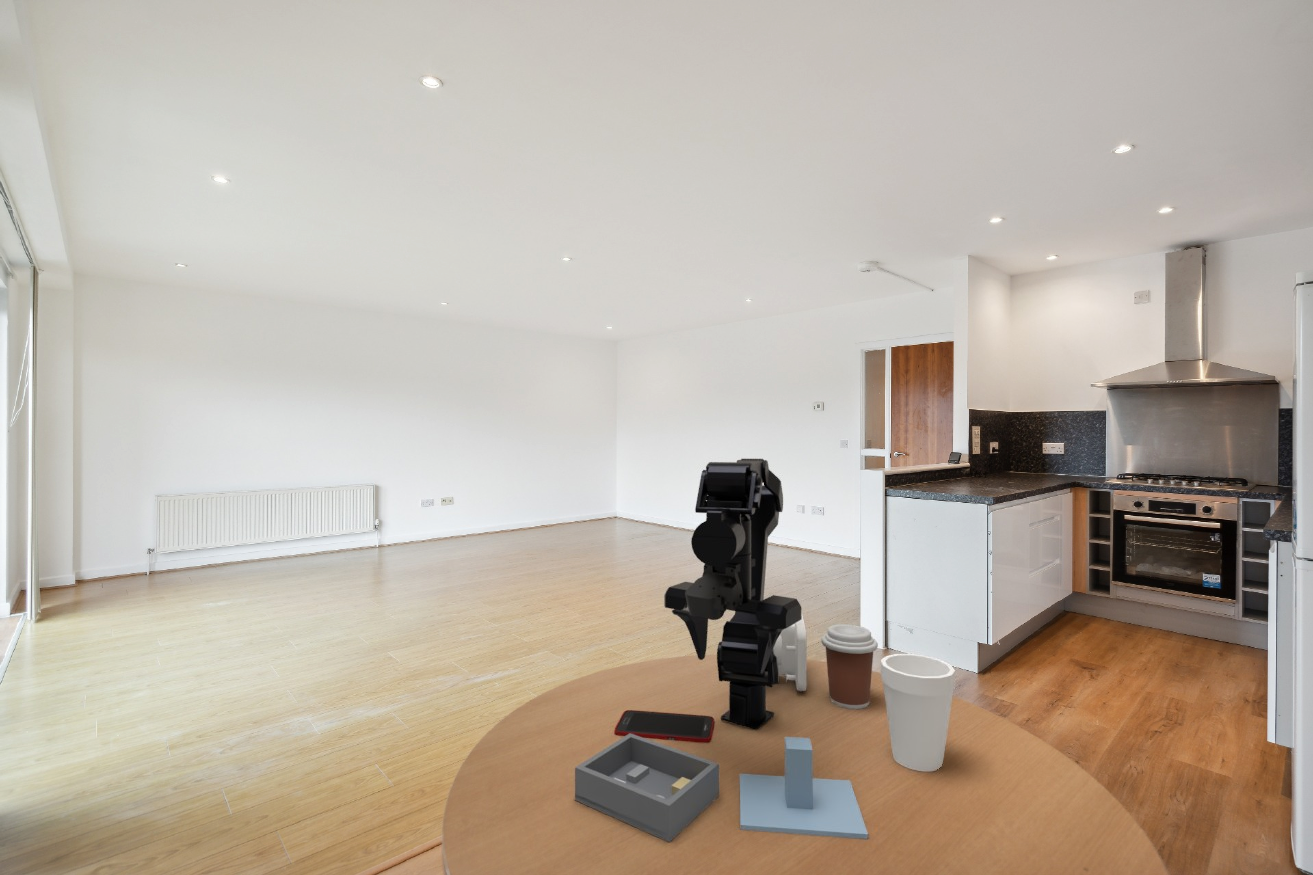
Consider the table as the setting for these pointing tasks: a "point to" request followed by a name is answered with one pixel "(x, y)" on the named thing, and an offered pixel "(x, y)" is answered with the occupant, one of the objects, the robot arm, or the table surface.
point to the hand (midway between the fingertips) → (730, 665)
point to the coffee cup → (849, 664)
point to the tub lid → (800, 799)
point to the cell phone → (666, 726)
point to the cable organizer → (793, 654)
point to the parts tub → (648, 785)
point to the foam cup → (918, 708)
